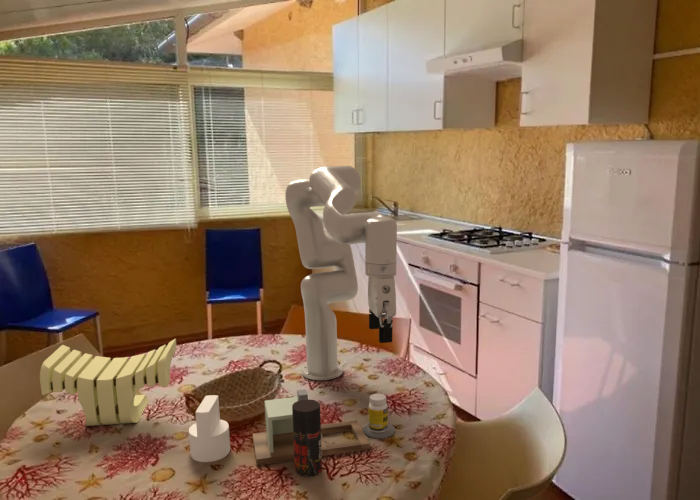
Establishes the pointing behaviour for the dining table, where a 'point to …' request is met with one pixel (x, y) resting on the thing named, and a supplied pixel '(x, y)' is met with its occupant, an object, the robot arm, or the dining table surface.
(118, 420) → the slatted curved stool
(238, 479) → the dining table surface
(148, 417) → the dining table surface
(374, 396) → the supplement bottle
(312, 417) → the deodorant
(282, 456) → the board
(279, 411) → the cover
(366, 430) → the coaster
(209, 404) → the base with upright slab
